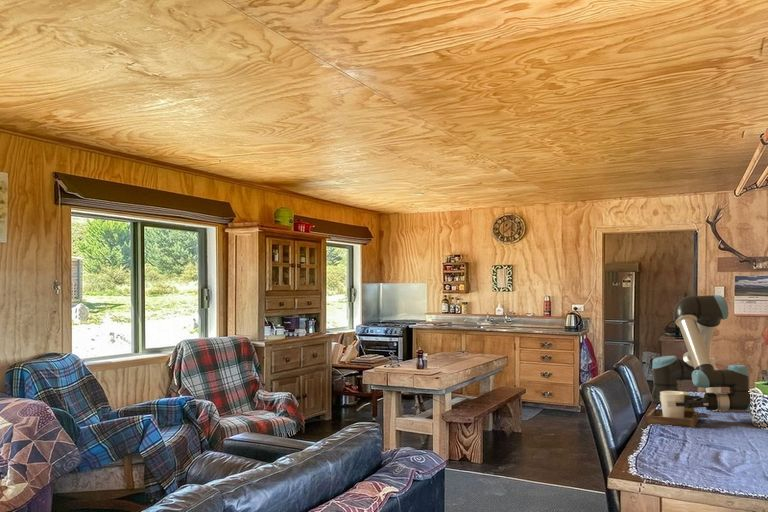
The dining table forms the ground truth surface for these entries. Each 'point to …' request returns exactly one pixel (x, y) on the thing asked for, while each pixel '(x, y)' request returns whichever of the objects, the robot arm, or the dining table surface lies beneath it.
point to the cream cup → (672, 411)
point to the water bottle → (713, 389)
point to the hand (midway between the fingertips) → (663, 401)
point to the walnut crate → (672, 419)
